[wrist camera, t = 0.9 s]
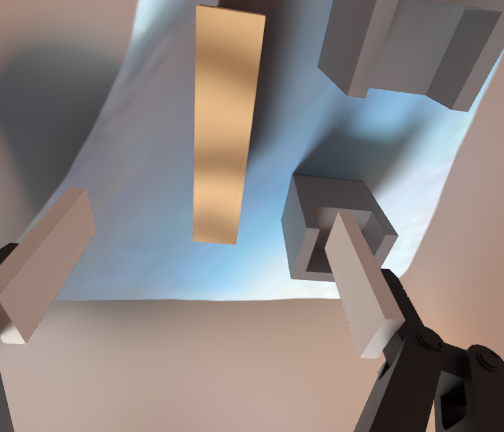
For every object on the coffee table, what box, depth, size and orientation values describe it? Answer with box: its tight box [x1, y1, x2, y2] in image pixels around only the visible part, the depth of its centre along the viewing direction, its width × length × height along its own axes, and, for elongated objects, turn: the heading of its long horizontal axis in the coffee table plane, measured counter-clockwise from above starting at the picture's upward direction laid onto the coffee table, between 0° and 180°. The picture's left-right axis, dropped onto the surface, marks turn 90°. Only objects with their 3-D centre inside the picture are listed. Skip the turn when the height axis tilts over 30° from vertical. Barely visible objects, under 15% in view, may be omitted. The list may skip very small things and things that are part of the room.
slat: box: [193, 4, 266, 245], centre depth 23 cm, size 18×4×2 cm, turn 173°
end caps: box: [281, 0, 504, 282], centre depth 26 cm, size 24×8×10 cm, turn 173°
